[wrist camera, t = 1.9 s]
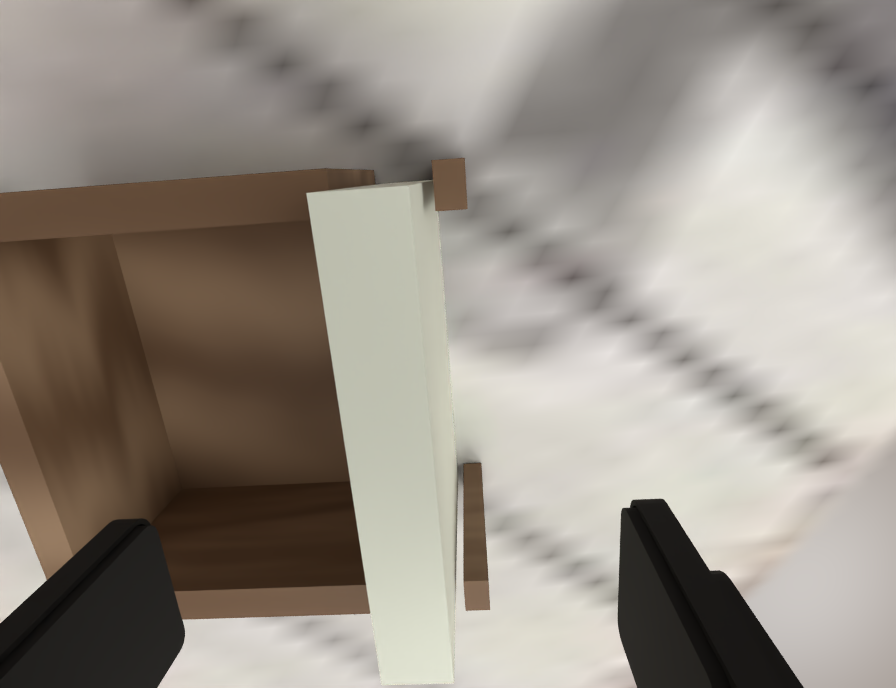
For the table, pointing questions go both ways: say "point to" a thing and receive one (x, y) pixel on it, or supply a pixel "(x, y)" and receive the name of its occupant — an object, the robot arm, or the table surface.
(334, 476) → the box
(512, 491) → the table surface
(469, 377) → the table surface
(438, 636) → the cover plate
